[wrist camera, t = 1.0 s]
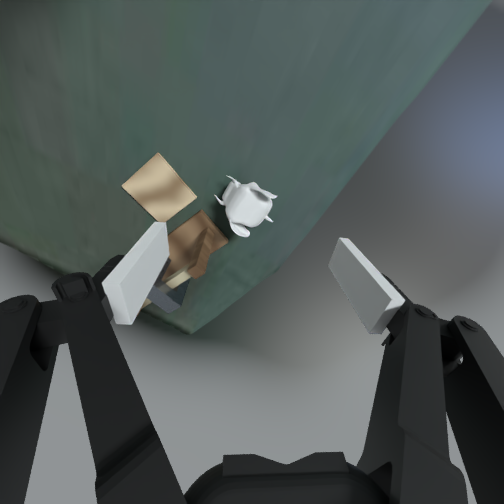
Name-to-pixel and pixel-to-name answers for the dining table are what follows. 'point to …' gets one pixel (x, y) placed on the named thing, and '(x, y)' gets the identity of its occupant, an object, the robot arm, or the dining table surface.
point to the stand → (191, 249)
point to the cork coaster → (159, 189)
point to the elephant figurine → (246, 205)
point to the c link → (167, 292)
